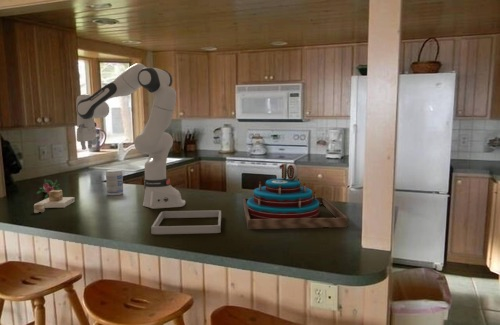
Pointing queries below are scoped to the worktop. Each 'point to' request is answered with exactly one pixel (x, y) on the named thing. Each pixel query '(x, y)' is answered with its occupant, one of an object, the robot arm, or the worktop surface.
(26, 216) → the worktop surface
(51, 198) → the oak block
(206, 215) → the grey tray rim
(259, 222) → the walnut cake board rim
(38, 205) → the maple block
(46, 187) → the flower vase
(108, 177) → the supplement tub
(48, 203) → the plate
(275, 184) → the birthday cake
